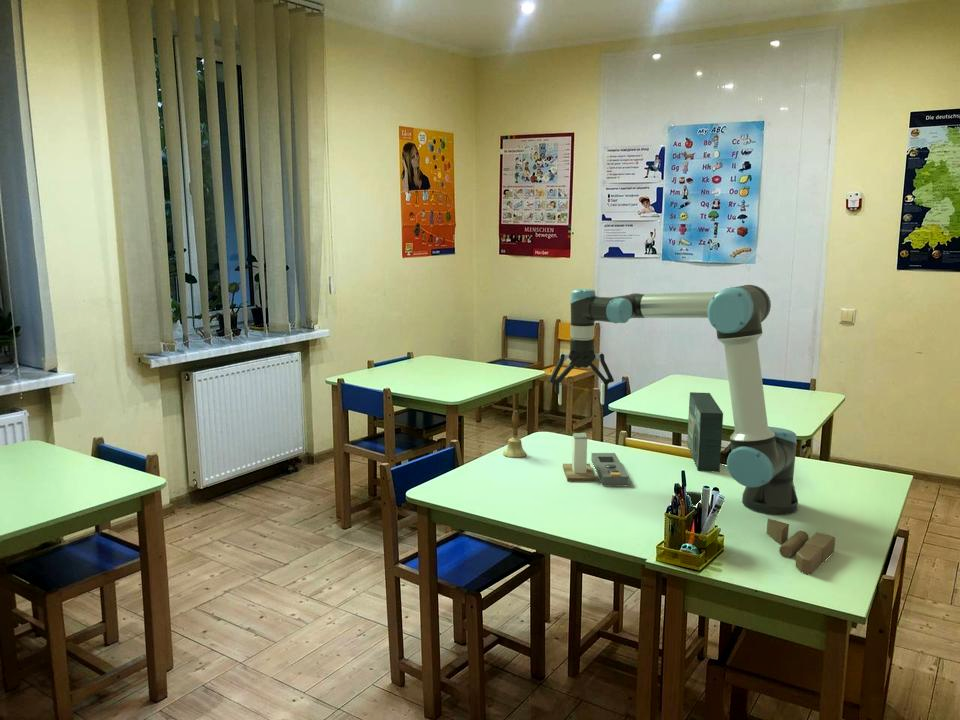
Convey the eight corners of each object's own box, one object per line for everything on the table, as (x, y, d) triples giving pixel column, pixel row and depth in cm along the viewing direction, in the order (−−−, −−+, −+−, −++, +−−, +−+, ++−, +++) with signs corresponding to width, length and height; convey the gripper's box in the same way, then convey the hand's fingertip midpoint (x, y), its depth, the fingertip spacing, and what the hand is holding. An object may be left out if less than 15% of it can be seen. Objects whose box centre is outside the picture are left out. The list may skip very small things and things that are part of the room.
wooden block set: (837, 531, 186) (813, 555, 173) (835, 552, 188) (810, 578, 174) (769, 513, 198) (741, 535, 184) (768, 533, 199) (740, 556, 185)
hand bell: (520, 449, 270) (520, 406, 267) (530, 456, 262) (530, 412, 259) (499, 452, 267) (499, 409, 264) (508, 459, 259) (508, 414, 256)
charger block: (586, 473, 241) (587, 437, 239) (573, 473, 241) (574, 437, 239) (584, 468, 246) (585, 432, 244) (572, 468, 246) (572, 432, 244)
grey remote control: (628, 485, 233) (628, 474, 232) (602, 485, 233) (603, 474, 232) (614, 461, 256) (614, 450, 256) (591, 461, 256) (591, 450, 256)
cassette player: (687, 445, 275) (689, 392, 271) (706, 445, 274) (709, 392, 270) (697, 471, 247) (701, 412, 243) (719, 472, 246) (723, 413, 242)
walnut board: (595, 481, 237) (596, 477, 237) (567, 481, 237) (567, 477, 237) (589, 467, 251) (589, 463, 250) (562, 467, 251) (562, 463, 250)
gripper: (619, 336, 239) (617, 400, 243) (541, 336, 239) (541, 401, 243) (624, 339, 232) (622, 406, 235) (543, 340, 232) (543, 406, 235)
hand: (581, 403), depth 239 cm, fingers open, 13 cm apart
